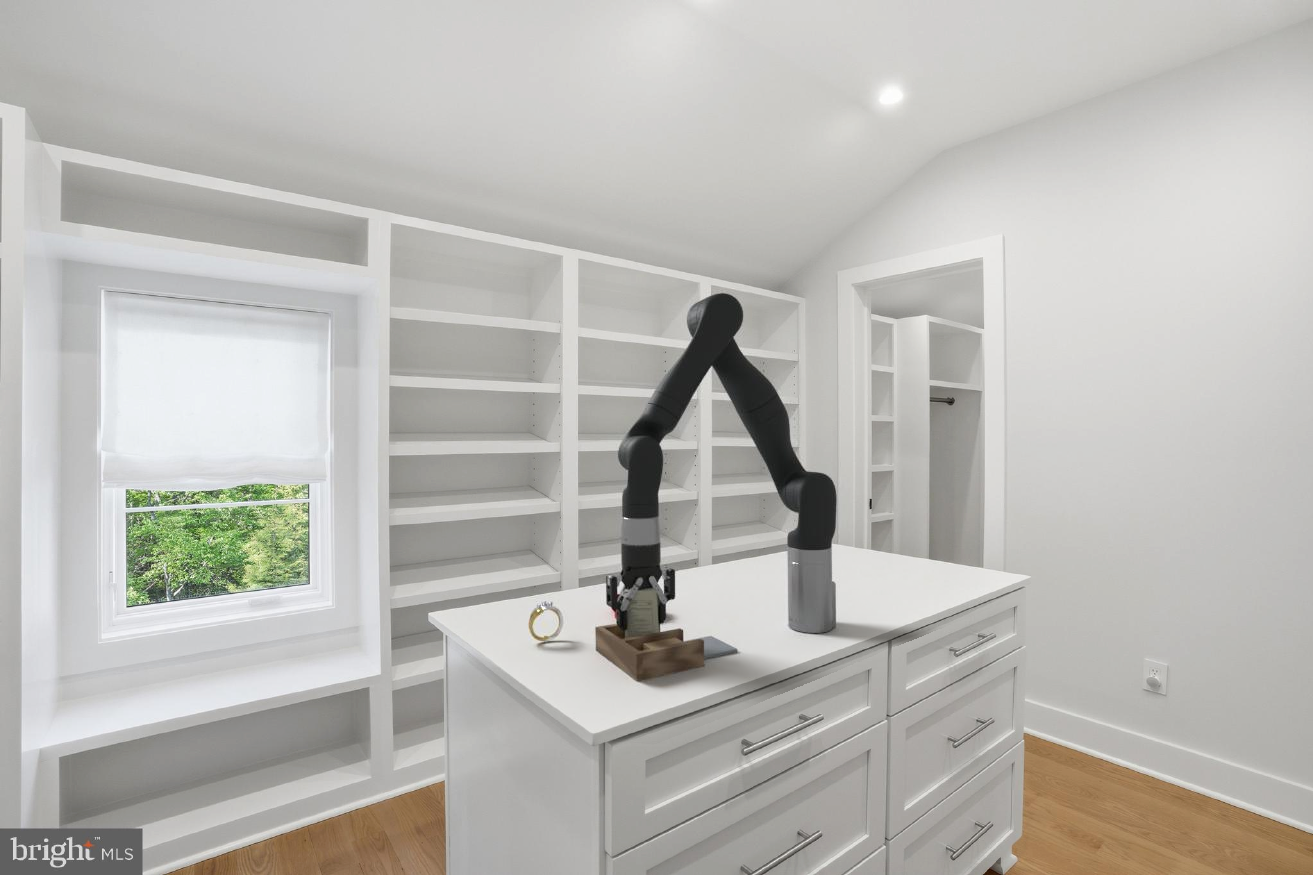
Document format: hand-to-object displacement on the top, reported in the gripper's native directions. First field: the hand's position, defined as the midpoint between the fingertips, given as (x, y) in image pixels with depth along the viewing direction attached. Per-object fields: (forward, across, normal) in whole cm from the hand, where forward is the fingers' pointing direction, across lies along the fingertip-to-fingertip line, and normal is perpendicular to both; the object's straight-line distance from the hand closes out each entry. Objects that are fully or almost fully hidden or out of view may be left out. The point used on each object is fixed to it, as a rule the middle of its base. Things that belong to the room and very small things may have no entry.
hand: (641, 625), depth 118 cm
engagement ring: (+5, -14, +15) cm, 21 cm away
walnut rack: (+5, 0, -4) cm, 6 cm away
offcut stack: (+5, +1, -8) cm, 10 cm away
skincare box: (+5, 0, 0) cm, 5 cm away
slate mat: (+5, +11, -5) cm, 13 cm away
